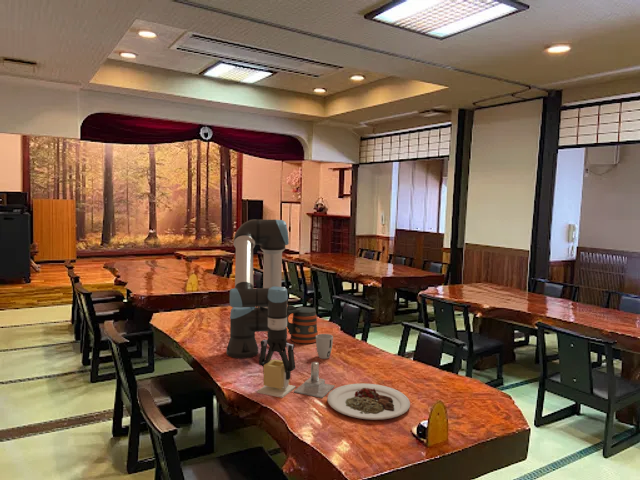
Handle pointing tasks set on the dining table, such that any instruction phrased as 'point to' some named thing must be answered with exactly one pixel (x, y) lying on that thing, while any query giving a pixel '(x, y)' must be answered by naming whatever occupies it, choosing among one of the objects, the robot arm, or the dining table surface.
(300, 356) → the dining table surface
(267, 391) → the felt mat
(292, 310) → the beer stein
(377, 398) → the plated food
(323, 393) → the post stand
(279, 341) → the robot arm
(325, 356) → the cup
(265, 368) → the yellow square planter
